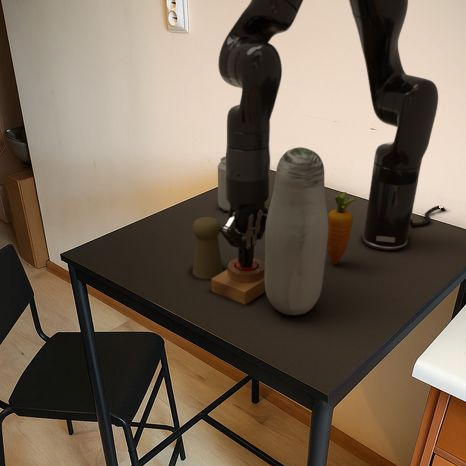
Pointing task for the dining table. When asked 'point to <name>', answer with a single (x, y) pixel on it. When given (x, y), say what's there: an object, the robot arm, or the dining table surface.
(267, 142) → the robot arm
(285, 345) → the dining table surface
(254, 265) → the red button
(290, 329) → the dining table surface
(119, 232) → the dining table surface
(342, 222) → the carrot
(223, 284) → the button box
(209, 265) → the cork
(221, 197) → the can
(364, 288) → the dining table surface
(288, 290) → the grey tall rounded cylinder
